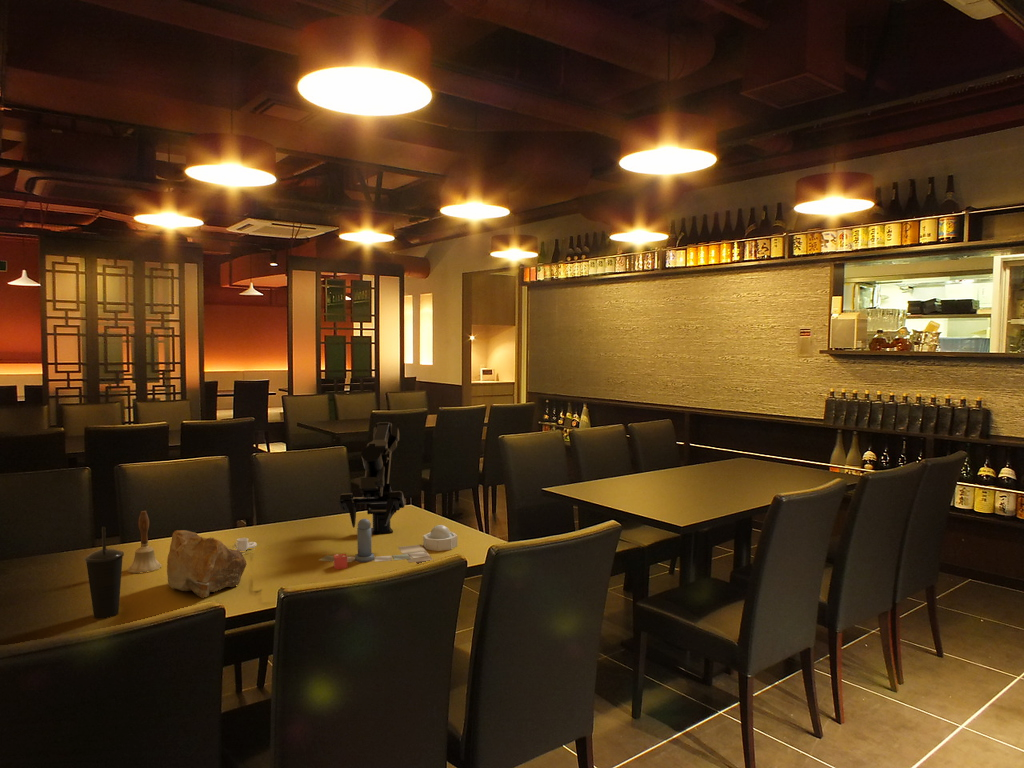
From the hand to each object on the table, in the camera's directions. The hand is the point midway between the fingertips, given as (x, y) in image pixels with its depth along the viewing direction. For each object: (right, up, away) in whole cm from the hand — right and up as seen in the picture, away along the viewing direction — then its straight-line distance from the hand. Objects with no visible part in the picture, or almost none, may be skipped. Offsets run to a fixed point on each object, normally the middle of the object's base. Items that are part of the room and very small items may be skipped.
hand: (369, 526), depth 202 cm
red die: (-5, -8, -14) cm, 17 cm away
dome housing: (+20, -8, +9) cm, 23 cm away
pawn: (0, -8, -8) cm, 11 cm away
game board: (+3, -9, -5) cm, 10 cm away
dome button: (+20, -8, +9) cm, 23 cm away
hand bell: (-59, -9, -12) cm, 61 cm away
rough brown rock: (-34, -10, -27) cm, 45 cm away
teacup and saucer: (-35, -9, +5) cm, 37 cm away
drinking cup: (-50, -11, -45) cm, 68 cm away
